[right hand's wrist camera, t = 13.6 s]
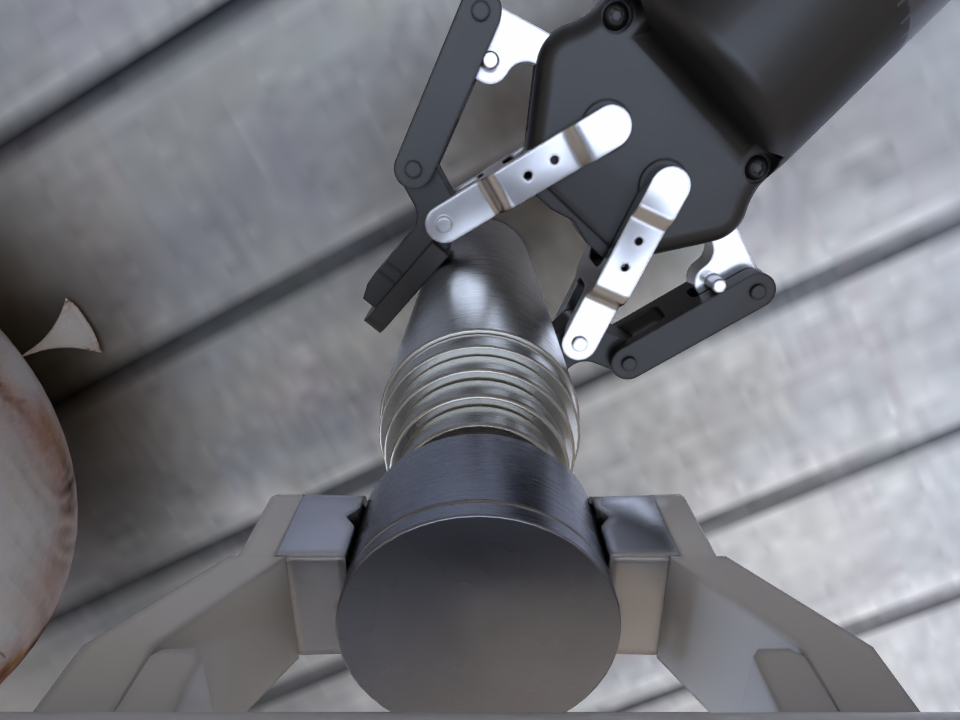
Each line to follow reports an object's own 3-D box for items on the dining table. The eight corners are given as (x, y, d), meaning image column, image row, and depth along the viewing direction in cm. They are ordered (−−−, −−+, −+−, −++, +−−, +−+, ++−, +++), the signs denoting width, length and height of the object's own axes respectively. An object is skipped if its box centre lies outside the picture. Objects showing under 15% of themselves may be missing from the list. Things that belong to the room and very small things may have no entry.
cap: (389, 407, 9) (365, 484, 7) (627, 463, 10) (664, 552, 8) (343, 599, 11) (313, 708, 9) (554, 642, 11) (569, 756, 9)
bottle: (507, 200, 27) (572, 421, 8) (545, 292, 29) (680, 672, 9) (414, 242, 28) (257, 542, 8) (456, 329, 29) (406, 758, 10)
